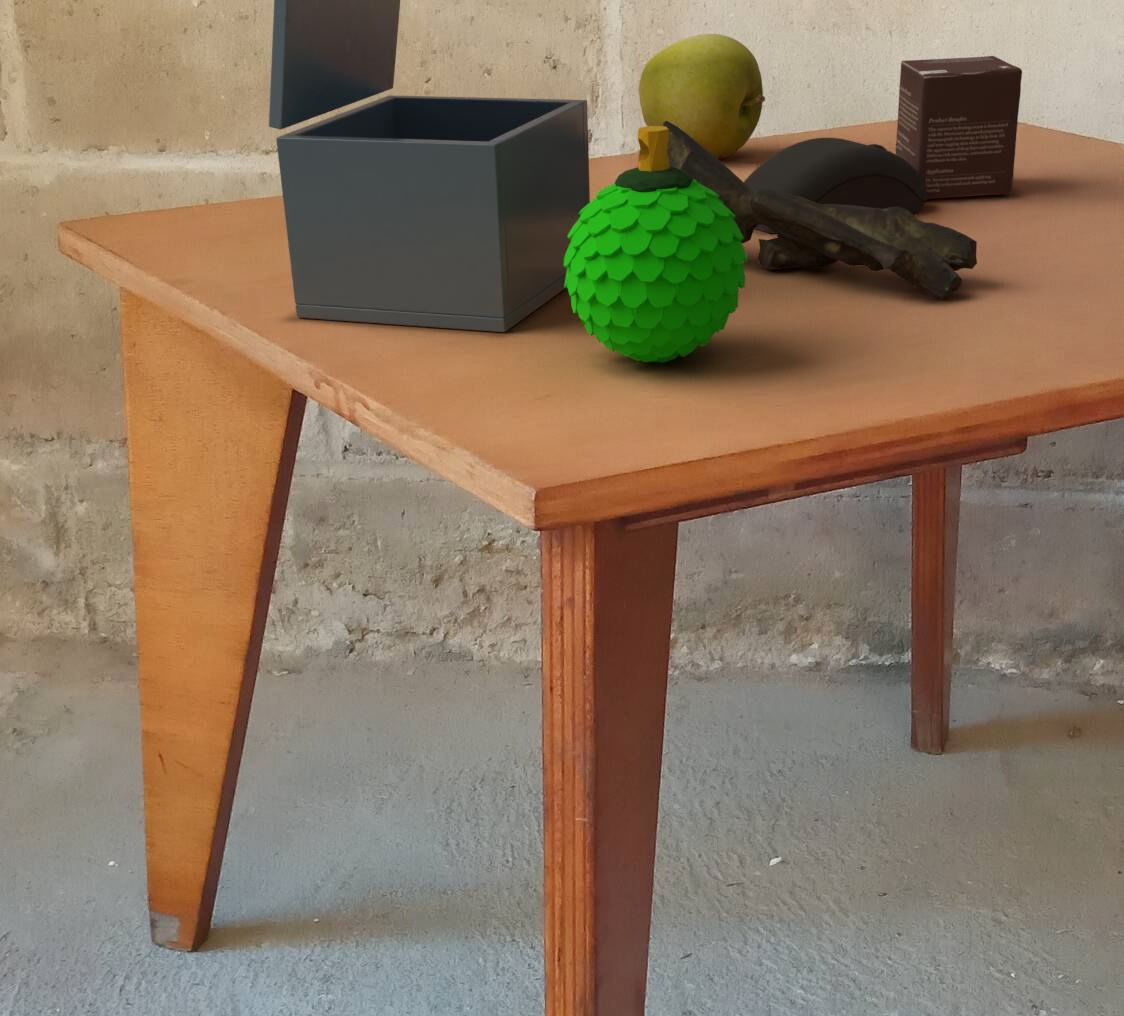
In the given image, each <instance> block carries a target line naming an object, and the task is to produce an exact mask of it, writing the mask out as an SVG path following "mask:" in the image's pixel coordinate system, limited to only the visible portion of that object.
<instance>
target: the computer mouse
mask: <svg viewBox="0 0 1124 1016" xmlns="http://www.w3.org/2000/svg"><path fill="white" fill-rule="evenodd" d="M743 182H744V183H745V184H746V185H747V186H748V187H749V189H750V190H751V191H752V192H757V191H758V190H761V189H770V190H777V191H781V192H784V193H788V194H791V195H794V196H799V197H803V198H805V199H808V200H809V201H812V202H815V203H818V204H839V205H854V206H864V207H870V208H879V209H885V208H890V207H900V208H904V209H906V210H908V211H909V212H910V213H912V214H913V215H914V214H918V213H921V211H922V210H923V208H924V207H925V204H926V202H927V200H928V199H927V187H926V184H925V181H924V180H923V178H922V177H921V175H920V174H919V173H918V172H917V171H916V170H915V169H914V168H913V167H912V166H911V165H910V164H909V163H908V162H907V161H905V160H904V159H903V158H901V157H899V156H898V155H896V153H894V152H893V151H889V150H887V149H886V148H885V146H883V145H881V144H877V143H869V144H865V143H861V142H857V141H853V140H849V139H844V138H839V137H816V138H811V139H806V140H803V141H799V142H796V143H794V144H791V145H789V146H786V147H785V148H783V149H781V150H779V151H778V152H776V153H775V154H773V155H771V156H770V157H769V158H767V159H766V160H765V161H764V162H762V163H761V164H760V165H759V166H757V167H756V168H755V169H754V170H753V171H752V172H751V173H750V174H749V175H748V177H746V179H744V181H743ZM754 230H759V231H761V232H764V233H769V234H776V233H775V232H774V231H773V230H772V229H770V228H769V227H768V226H766V225H759V224H758V225H757V227H756V228H755V229H754Z"/></svg>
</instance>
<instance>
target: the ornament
mask: <svg viewBox="0 0 1124 1016" xmlns="http://www.w3.org/2000/svg"><path fill="white" fill-rule="evenodd" d="M637 140H638V144H639V145H638V146H639V147H640V149H639V154H638V160H637V164H638V165H637V167H634V168H630V169H627V170H624V171H623V172H622V173H620V174H619V175H618V176H617V178H616V179H615V181H614V182H613V183H612V184H610V185H608V186H605V187H604V188H602V189H599V190H598V192H597V193H596V194H595V195H594V196H595V198H593V199H592V200H590V203H589V204H587V205H586V206H585V207H584V208H583V209H582V210H581V211H580V212H579V215H580V218H579V219H578V220H577V222H576V223H575V224H574V226H573V227H572V229H571V231H570V232H569V234H568V236H567V237H568V238H569V239H570V240H571V242H570V244H569V247H568V249H567V251H566V254H565V256H564V258H563V260H564V267H566V268H567V272H566V278H565V285H564V287H566V288H565V289H567V292H568V295H569V297H570V305H571V309H572V313H573V314H578V318H579V319H580V320H581V326H582V327H584V329H585V331H586V332H587V334H588V335H589V336H590V337H591V336H593V335H594V336H595V338H596V340H597V341H598V342H599V343H602V344H603V345H604V346H605V348H606V349H607V350H609V351H611V352H612V353H613V352H615V351H616V352H617V353H619V354H620V355H622V356H624V357H627V358H628V357H629V358H630V359H632V360H634V361H637V362H640V361H641V362H644V363H649V362H652V363H661V364H662V363H666V362H670V361H673V360H675V359H676V358H678V357H681V358H682V357H683V358H685V357H687V356H688V355H689V354H691V353H693V351H694V350H695V349H696V348H697V346H703V347H705V346H707V345H708V344H709V342H710V341H711V339H712V338H713V336H714V335H715V334H716V333H720V331H722V330H725V327H726V325H727V322H728V318H729V316H730V314H733V313H734V312H736V310H737V308H738V307H739V289H743V288H745V287H746V275H745V273H746V272H745V267H744V263H745V262H747V261H748V256H747V253H746V250H745V247H744V245H743V243H741V241H742V240H743V239H744V237H743V235H742V234H741V232H740V229H739V228H738V226H737V223H736V222H735V221H734V218H735V215H734V214H733V213H732V212H731V211H730V210H729V209H728V208H727V207H726V206H725V205H724V202H723V201H721V200H720V199H719V198H718V197H719V195H718V194H716V193H715V192H713V191H712V190H710V189H709V188H707V187H705V186H703V185H701V183H699V182H697V181H696V180H695V179H693V178H692V177H691V176H690V175H689V173H688V172H686V171H683V170H681V169H678V168H675V167H672V166H669V157H668V153H667V147H668V142H669V129H668V128H667V127H666V126H647V125H646V126H642V127H639V128H638V130H637Z"/></svg>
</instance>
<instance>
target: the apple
mask: <svg viewBox="0 0 1124 1016" xmlns="http://www.w3.org/2000/svg"><path fill="white" fill-rule="evenodd" d="M638 98H639V104H640V109H641V114H642V118H643V121H644V123H645V125H646V127H647V126H663V123H664V122H665V121H668V122H670V123H671V124H673V125H675V126H677V127H678V128H680V129H681V130H683V131H684V132H685V133H687V134H688V135H689V136H690V137H692V138H693V139H694V140H695V141H697V142H698V143H699V144H700V145H701V146H702V147H704V148H705V149H706V150H707V151H709V152H710V153H711V154H712V155H713V156H715V157H716V158H717V159H722V158H726V157H728V156H731V155H733V154H735V153H736V152H738V151H740V150H741V149H742V148H743V147H744V146H745V145H746V144H747V142H748V141H749V139H750V138H751V137H752V135H753V133H754V131H755V130H756V128H757V126H758V124H759V122H760V119H761V118H760V117H761V114H762V109H763V103H764V102H765V101H766V96H764V89H763V80H762V73H761V70H760V67H759V64H758V62H757V59H756V57H755V56H754V54H753V53H752V51H751V50H750V49H749V48H748V47H747V46H745V45H744V44H743V43H742V42H740V41H739V40H737V39H735V38H733V37H730V36H727V35H724V34H720V33H703V34H696V35H692V36H688V37H685V38H683V39H680V40H678V41H675V42H674V43H672V44H670V45H668V46H667V47H665V48H664V49H662V50H660V51H659V52H657V53H656V54H655V55H654V56H652V57H651V58H650V59H649V61H648V62H647V63H646V64H645V67H644V68H643V70H642V73H641V75H640V80H639V84H638Z"/></svg>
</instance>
